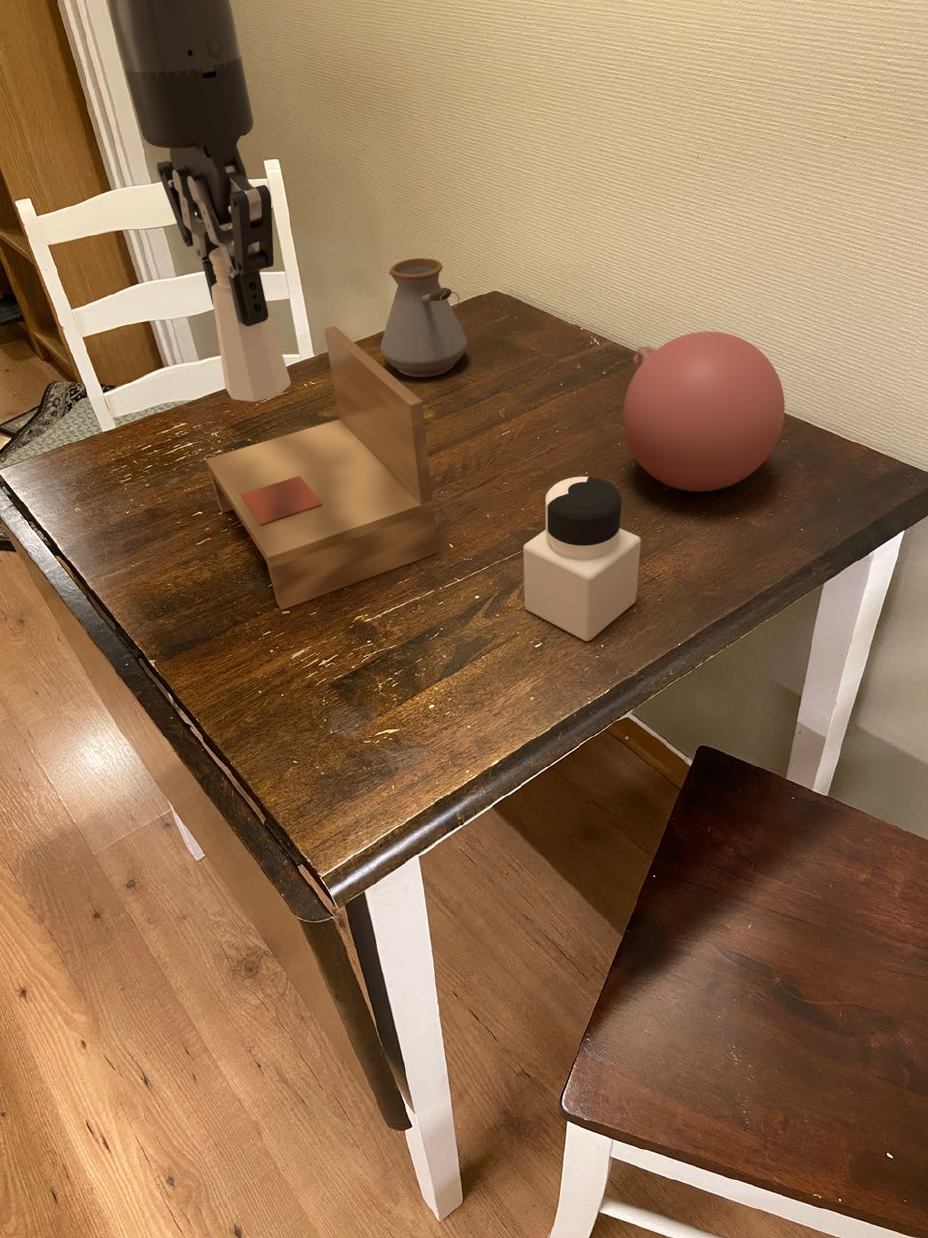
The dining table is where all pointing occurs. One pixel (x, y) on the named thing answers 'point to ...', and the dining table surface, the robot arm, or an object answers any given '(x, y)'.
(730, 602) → the dining table surface
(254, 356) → the pepper shaker
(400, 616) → the dining table surface
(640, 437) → the balloon
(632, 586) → the medicine bottle
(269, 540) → the shelf
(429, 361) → the coffee pot
